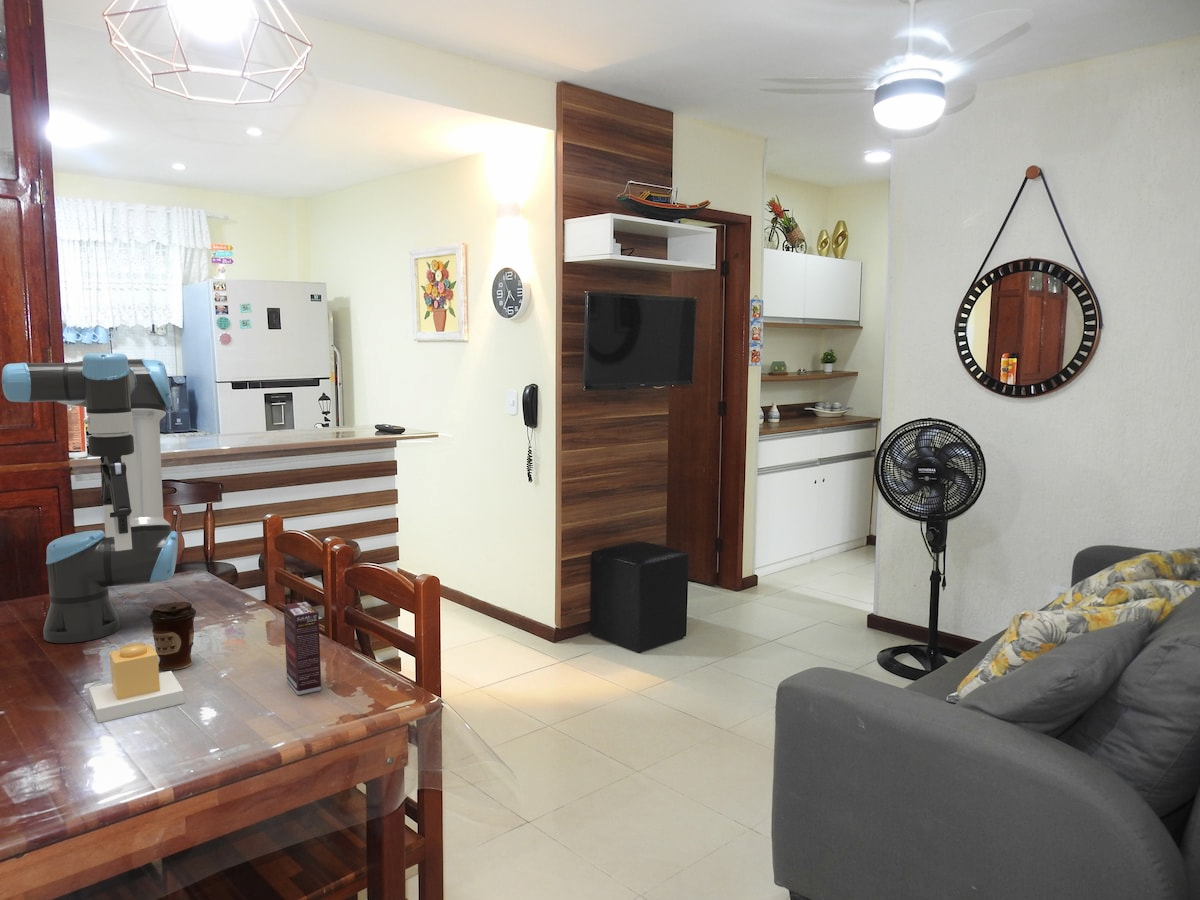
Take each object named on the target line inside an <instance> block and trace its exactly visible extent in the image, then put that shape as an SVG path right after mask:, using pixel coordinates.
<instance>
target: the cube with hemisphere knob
mask: <svg viewBox="0 0 1200 900" xmlns="http://www.w3.org/2000/svg"><path fill="white" fill-rule="evenodd" d="M109 664H110V677H111V683H112V689H113V691H114V693H115V696H116V698H117V700H120V699H125V698H129V697H134V696H138V695H143V694H148V693H152V692H157V691H160V681H159V673H160V670H159V669H160V668H159V666H158V664H159V656H158V654H157V653H156V649H155V647H154V646H153V644H151V643H149V644H146V643H144V642H143V643H142V642H134V643H128V644H125V645H123V646H120V647H119V649H118V650H113V651H109Z"/></svg>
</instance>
